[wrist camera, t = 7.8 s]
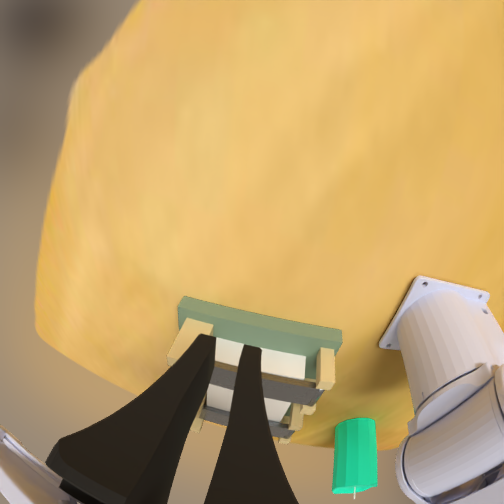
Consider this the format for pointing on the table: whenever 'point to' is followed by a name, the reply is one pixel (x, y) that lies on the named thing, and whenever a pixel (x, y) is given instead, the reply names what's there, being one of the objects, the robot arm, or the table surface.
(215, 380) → the strap near
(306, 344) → the board
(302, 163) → the table surface
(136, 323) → the table surface
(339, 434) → the candle
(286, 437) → the strap far
